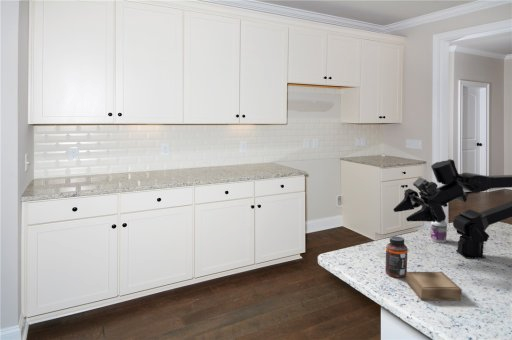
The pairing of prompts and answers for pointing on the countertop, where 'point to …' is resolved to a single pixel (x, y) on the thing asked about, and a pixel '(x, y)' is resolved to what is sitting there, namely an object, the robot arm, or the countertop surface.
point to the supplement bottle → (396, 257)
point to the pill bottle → (439, 231)
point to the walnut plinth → (433, 286)
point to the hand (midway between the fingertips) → (400, 215)
